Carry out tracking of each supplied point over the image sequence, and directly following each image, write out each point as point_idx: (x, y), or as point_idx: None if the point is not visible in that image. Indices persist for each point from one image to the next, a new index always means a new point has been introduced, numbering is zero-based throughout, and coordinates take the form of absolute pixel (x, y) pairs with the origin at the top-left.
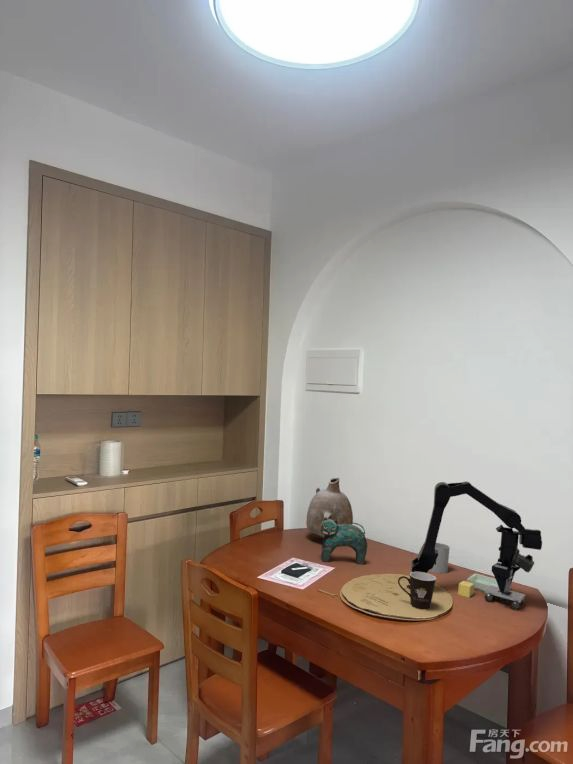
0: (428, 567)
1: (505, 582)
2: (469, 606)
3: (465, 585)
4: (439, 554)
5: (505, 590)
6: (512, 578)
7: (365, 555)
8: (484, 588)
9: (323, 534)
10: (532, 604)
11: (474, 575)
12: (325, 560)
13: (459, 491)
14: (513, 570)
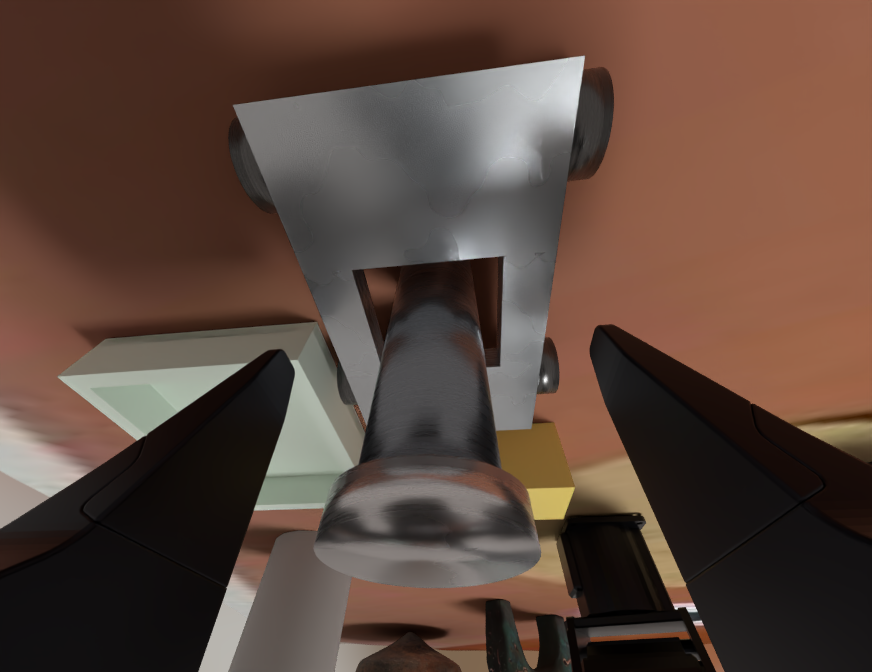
0: (713, 668)
1: (817, 442)
2: (732, 380)
3: (569, 500)
4: (326, 640)
5: (480, 334)
6: (201, 424)
7: (503, 633)
8: (351, 426)
9: (456, 667)
10: (164, 8)
11: (261, 505)
12: (560, 620)
13: None
14: (53, 601)
